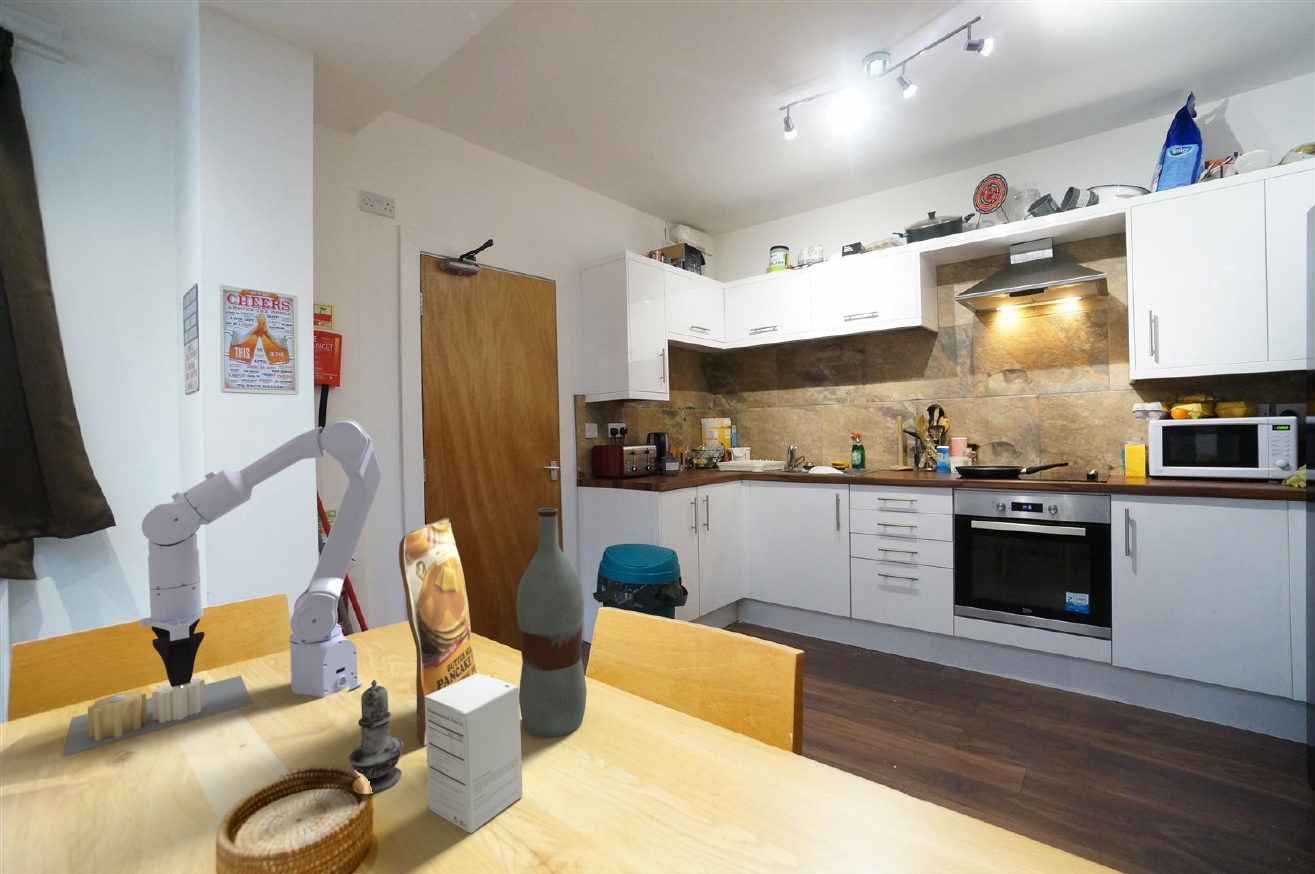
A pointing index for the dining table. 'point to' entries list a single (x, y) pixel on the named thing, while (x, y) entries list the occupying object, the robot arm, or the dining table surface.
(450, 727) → the supplement box
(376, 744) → the dark grey tall piece
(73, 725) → the gear board
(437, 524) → the pancake mix bag
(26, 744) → the dining table surface
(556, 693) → the bottle
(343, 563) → the robot arm
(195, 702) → the gear
